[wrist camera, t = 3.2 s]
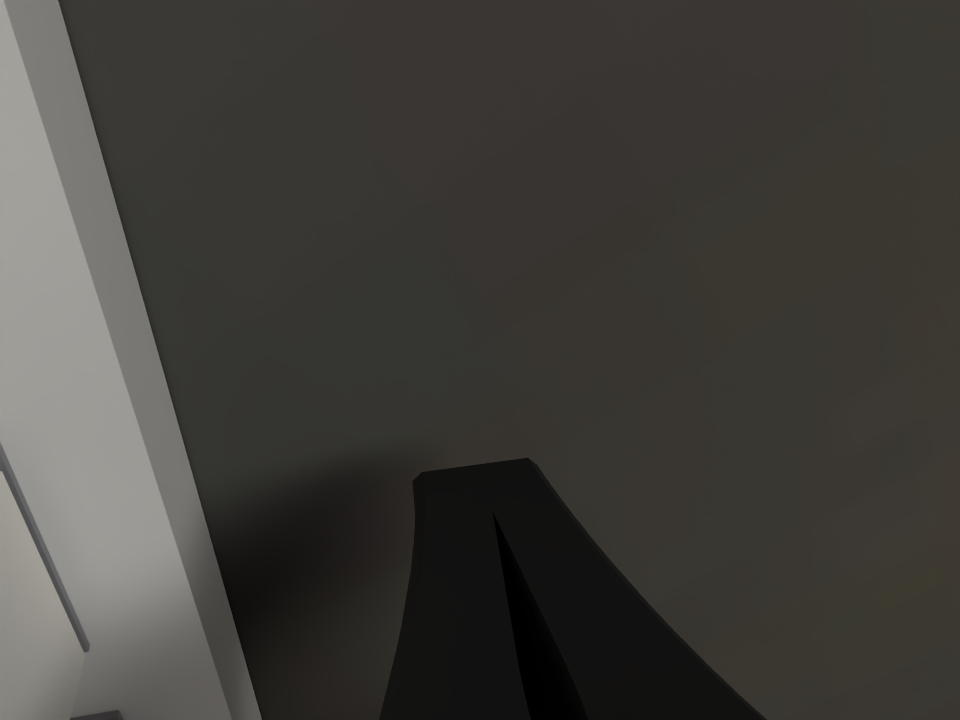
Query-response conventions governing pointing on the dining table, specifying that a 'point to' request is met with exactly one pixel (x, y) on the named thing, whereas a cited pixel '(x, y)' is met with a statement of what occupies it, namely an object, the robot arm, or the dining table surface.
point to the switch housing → (98, 411)
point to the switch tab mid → (32, 628)
